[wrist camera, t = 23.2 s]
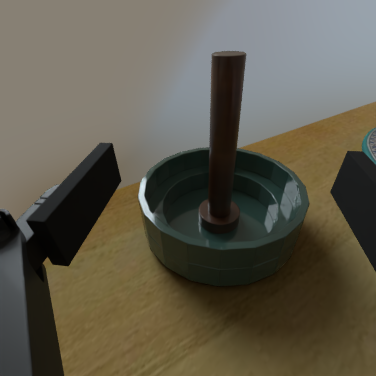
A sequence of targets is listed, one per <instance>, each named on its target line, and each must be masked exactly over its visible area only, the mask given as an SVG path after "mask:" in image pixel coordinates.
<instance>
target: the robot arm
mask: <svg viewBox="0 0 376 376" xmlns="http://www.w3.org/2000/svg"><path fill="white" fill-rule="evenodd" d="M120 182H121V177H120V173H119V169H118V165H117V161H116V157H115V153H114V148H113V144H112V143H100V144H99V145H98V146H97V147H96V148H95V149H94V150H93V151H92V152H91V153H90V154H89V155H88V156H87V157H86V158H85V159H84V160H83V161H82V162H81V163H80V164H79V165H78V167H77V168H76V169H75V170H74V171H73V172H72V173H71V174H70V175H69V176H68V177H67V178H66V179H65V180H64V181H63V182H62V183H61V184H60V185H55V186H54V187H52V188H50V189H48V190H47V191H46V192H45V193H44V194H43V195H42V196H41V197H40V199H38V200H37V201H36V202H35V203H34V204H33V205H32V206H31V207H30V208H29V209H28V210H27V211H26V212H25V213H24V214H23V215H22V216H21V217H20V218H19V219H18V220H17V221H16V222H15V220H14V219H13V217H12V216H11V214H10V213H9V211H7V210H5V209H0V376H64V371H63V365H62V360H61V354H60V348H59V343H58V337H57V331H56V326H55V320H54V314H53V309H52V303H51V297H50V291H49V286H48V280H47V274H46V269H45V266H44V265H43V262H44V261H45V259H46V258H47V256H48V258H49V259H50V261H51V263H52V264H53V265H62V266H69V265H70V263H71V261H72V260H73V258H74V257H75V255H76V253H77V252H78V250H79V248H80V247H81V245H82V244H83V242H84V240H85V239H86V237H87V236H88V234H89V232H90V231H91V229H92V228H93V226H94V224H95V223H96V221H97V219H98V218H99V216H100V215H101V213H102V211H103V210H104V208H105V207H106V205H107V203H108V202H109V200H110V198H111V197H112V195H113V194H114V192H115V190H116V189H117V187H118V185H119V184H120ZM330 193H331V194H332V196H333V198H334V200H335V201H336V203H337V205H338V207H339V208H340V210H341V212H342V214H343V215H344V217H345V219H346V221H347V222H348V224H349V226H350V228H351V229H352V231H353V233H354V235H355V236H356V238H357V240H358V242H359V243H360V245H361V247H362V249H363V250H364V252H365V254H366V256H367V257H368V259H369V261H370V263H371V264H372V266H373V268H374V270H375V271H376V164H375V163H374V162H373V161H372V160H371V159H370V158H369V157H368V156H367V155H366V154H365V153H364V152H360V151H347V154H346V156H345V158H344V161H343V163H342V165H341V168H340V170H339V173H338V175H337V177H336V180H335V182H334V184H333V187H332V189H331V192H330Z"/></svg>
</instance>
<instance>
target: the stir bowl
mask: <svg viewBox="0 0 376 376" xmlns="http://www.w3.org/2000/svg"><path fill="white" fill-rule="evenodd" d="M209 148H210V147H209ZM209 148H198V149H193V150H188V151H183V152H180V153H177V154H175V155H172V156H170V157H167V158H165V159H163V160H162V161H160V162H159V163H158V164H156V165H155V166H154V167H152V168H151V169H150V170H149V171H148V172H147V174H146V175H145V177H144V178H143V179H142V181H141V183H140V188H139V194H138V200H139V205H140V210H141V215H142V220H143V225H144V230H145V234H146V237H147V240H148V243H149V246H150V249H151V251H152V252H153V253H154V254H155V255H156V256H157V257H158V259H159V260H160V261H161V262H162V263H163V264H164V265H165V266H166V267H167V268H169V269H171V270H172V271H174V272H176V273H178V274H180V275H181V276H183V277H185V278H187V279H188V280H191V281H196V282H201V283H205V284H210V285H214V286H233V285H246V284H250V283H253V282H255V281H258V280H260V279H263V278H265V277H267V276H270V275H272V274H274V273H275V272H276V271H277V270H278V269H279V268H280V267H281V266H282V265H283V264H284V263H286V262H287V261H288V260H289V259H290V257H291V254H292V251H293V249H294V246H295V243H296V240H297V237H298V235H299V232H300V229H301V226H302V224H303V221H304V218H305V215H306V212H307V209H308V207H309V200H308V195H307V191H306V187H305V185H304V184H303V183H302V182H301V180H300V179H299V178H298V176H297V175H296V174H295V173H294V172H293V171H292V170H290V169H289V168H287V167H286V166H284V165H283V164H282V163H280V162H279V161H276V160H274V159H272V158H269V157H267V156H265V155H262V154H260V153H256V152H252V151H248V150H244V149H239V148H237V150H236V160H235V170H234V180H233V190H232V201H233V202H235V203H236V204H237V205H238V207H239V209H240V216H239V223H238V225H237V227H236V228H235V229H234V230H233V231H231V232H228V233H224V234H216V233H212V232H209V231H207V230H205V229H204V228H203V227H202V226H201V224H200V223H199V206H200V205H201V203H202V202H203V201H205V200H207V199H208V189H209Z"/></svg>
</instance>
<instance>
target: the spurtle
mask: <svg viewBox="0 0 376 376" xmlns="http://www.w3.org/2000/svg"><path fill="white" fill-rule="evenodd" d="M245 61H246V53H245V52H239V51H222V52H215V53H213V54H212V68H211V108H210V148H209V189H208V199H207V200H205V201H203V202H202V203H201V205H200V206H199V223H200V224H201V226H202V227H203V228H204V229H205V230H207V231H209V232H212V233H216V234H224V233H228V232H231V231H233V230H234V229H235V228H236V227H237V225H238V223H239V216H240V209H239V207H238V205H237V204H236V203H235V202H233V201H232V190H233V180H234V170H235V160H236V150H237V140H238V131H239V121H240V111H241V101H242V91H243V81H244V70H245Z"/></svg>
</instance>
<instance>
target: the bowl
mask: <svg viewBox="0 0 376 376" xmlns="http://www.w3.org/2000/svg"><path fill="white" fill-rule="evenodd" d="M362 151H363V152H364V153H365V154H366V155H367V156H368V157H369V158H370V159H371V160H372V161H373V162H374V163H375V164H376V128H374V129H372V130H371V131H370V132H368V133H367V135H366V136H365V137H364V140H363V143H362Z"/></svg>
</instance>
